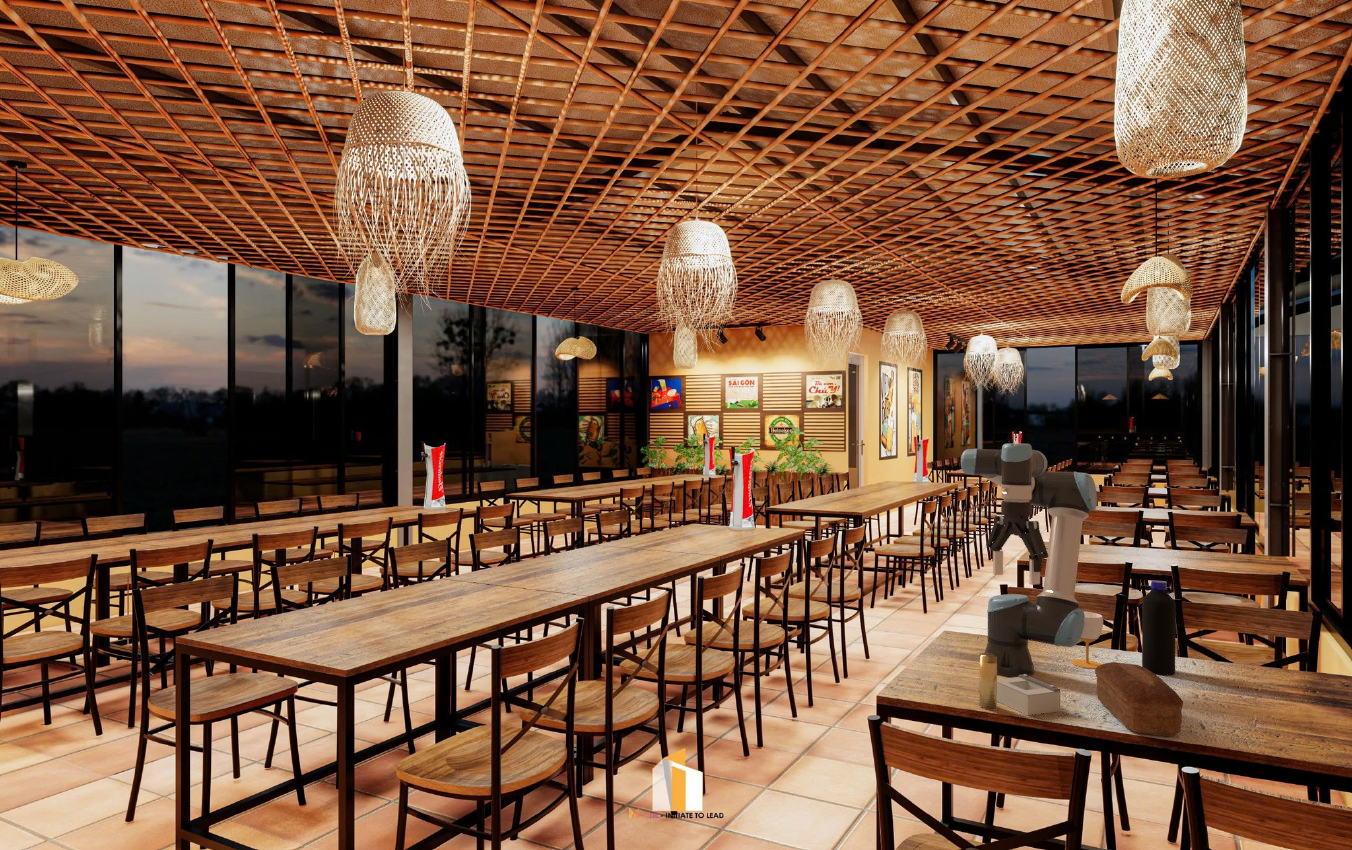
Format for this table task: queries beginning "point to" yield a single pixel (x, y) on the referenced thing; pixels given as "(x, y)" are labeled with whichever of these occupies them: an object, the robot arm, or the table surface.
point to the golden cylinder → (988, 681)
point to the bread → (1139, 699)
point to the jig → (1028, 695)
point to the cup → (1090, 637)
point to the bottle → (1158, 630)
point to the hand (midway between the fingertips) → (1015, 579)
